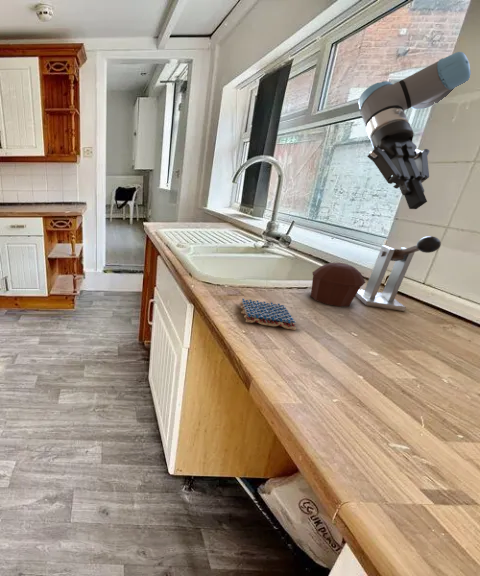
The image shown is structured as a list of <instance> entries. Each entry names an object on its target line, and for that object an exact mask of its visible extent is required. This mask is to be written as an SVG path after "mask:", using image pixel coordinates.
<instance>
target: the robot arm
mask: <svg viewBox="0 0 480 576" xmlns="http://www.w3.org/2000/svg"><path fill="white" fill-rule="evenodd" d="M470 69H471V65H470V60H469V59H468V57H467V55H466V54H465V53H464V52H463V51H457V52H454V53H453V54H452V53H451V54H450V55H448V56H446V57H444V58H440V59H438V61H436V62H433V63H432V64H430V65H428V66H426V67H424V68H422V69H419V70H418V71H416V72H415V73H413V74H411V75H409V76H406V77H405V78H403V79H401V80H399V81H396V82H394V83H392V82H391V81H388V80H383V81H380V82H376V83H373V84H372V85H370V86H369V87H366V89H365V90H363V92H362V93H361V94H360V96H359V98H358V102H357V103H358V108H359V113H360V115H361V118H362V121H363V123H364V126H365V128H366V132H367V135H368V139H369V140H370V144H371V146H372V148H373V149H372V150H371V151H370V152H369V153H368V154H367V155H366V156H367V158H368V159H370V160H371V161H372V162H373V164H374V165H375V166H376V168H377V169H378V171H379V172H380V173H381V175H382V176H383V178H384V179H385V181H386V182H387V183H388V184H389V185H393V184H394V185H393V186H392V187H393V188H394V189H399V191H400V193H401V195H402V196H404V198H405V201H406V204H407V206H408V209H409V210H417V209H419V208H420V207H422V206H423V205H425V204H426V203H428V200H427V198H426V195H425V189H424V186H423V184H422V183H424V182H425V181H426V180H428V179H429V177H430V170H429V169H430V168H429V160H428V156H429V154H430V149H428V148H424V149H423V150H420V149H418V148H417V145H416V144H415V143H414V142H413V140H414V135H415V133H414V131H413V128H412V126H411V123H410V122H409V120H408V118H407V116H406V113H405V111H406V110H409V109H411V108H412V109H413V110H423V109H427V108H430V107H433V106H434V105H433V104H434V102H435V103H438V102H439V101H440V100H442V99H443V98H444V97H446V96H447V95H448V94H449V93H450V92H451V91H452V90H453V89H454V88H455V87H457V86H459V85H461V84H463V83H465V82H466V81H468V80H469V78H470V75H471V70H470ZM432 105H433V106H432Z"/></svg>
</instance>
